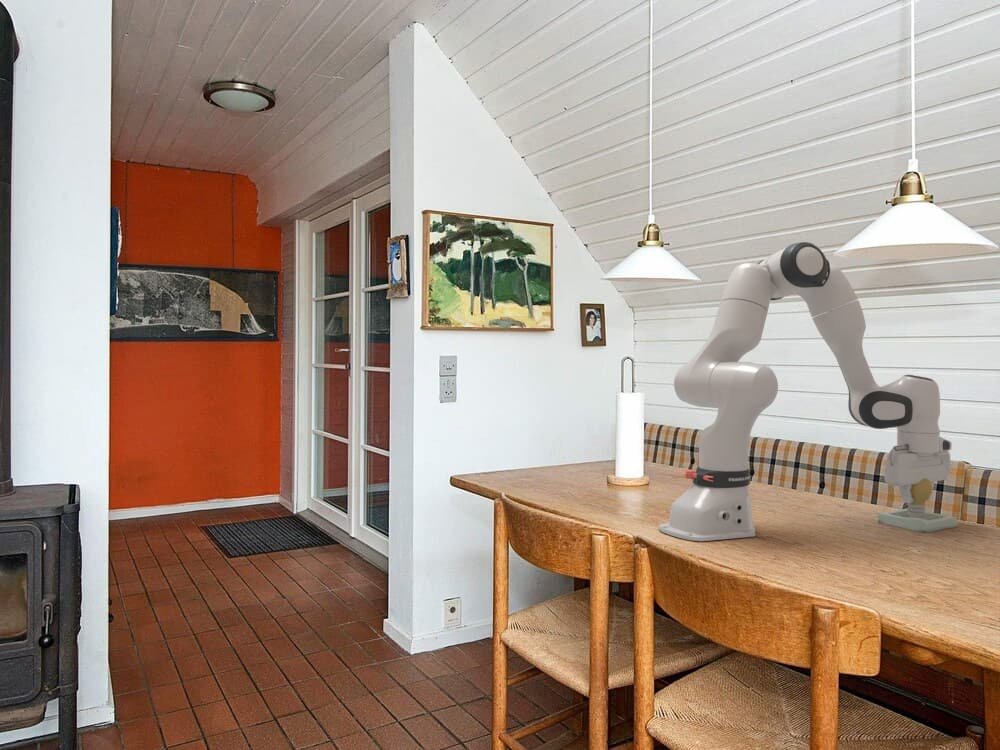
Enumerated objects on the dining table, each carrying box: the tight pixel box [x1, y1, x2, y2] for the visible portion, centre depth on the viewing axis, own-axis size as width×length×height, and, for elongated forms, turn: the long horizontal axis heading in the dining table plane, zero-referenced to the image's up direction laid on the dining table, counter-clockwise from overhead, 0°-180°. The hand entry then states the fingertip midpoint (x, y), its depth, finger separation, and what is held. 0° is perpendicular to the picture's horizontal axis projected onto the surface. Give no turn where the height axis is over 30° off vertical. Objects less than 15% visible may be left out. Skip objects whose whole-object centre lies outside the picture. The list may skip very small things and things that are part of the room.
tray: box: [877, 507, 958, 534], centre depth 184 cm, size 12×12×2 cm
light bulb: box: [907, 478, 933, 518], centre depth 184 cm, size 6×6×10 cm
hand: (916, 501), depth 184 cm, fingers closed on light bulb, 5 cm apart
